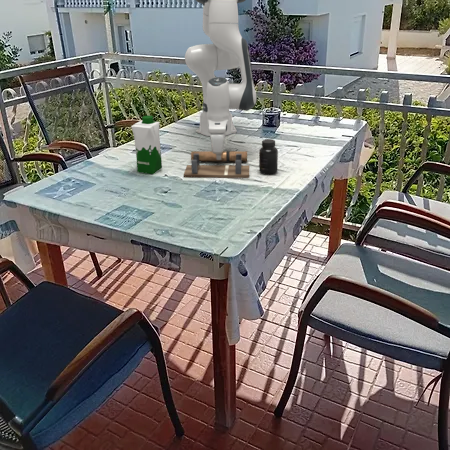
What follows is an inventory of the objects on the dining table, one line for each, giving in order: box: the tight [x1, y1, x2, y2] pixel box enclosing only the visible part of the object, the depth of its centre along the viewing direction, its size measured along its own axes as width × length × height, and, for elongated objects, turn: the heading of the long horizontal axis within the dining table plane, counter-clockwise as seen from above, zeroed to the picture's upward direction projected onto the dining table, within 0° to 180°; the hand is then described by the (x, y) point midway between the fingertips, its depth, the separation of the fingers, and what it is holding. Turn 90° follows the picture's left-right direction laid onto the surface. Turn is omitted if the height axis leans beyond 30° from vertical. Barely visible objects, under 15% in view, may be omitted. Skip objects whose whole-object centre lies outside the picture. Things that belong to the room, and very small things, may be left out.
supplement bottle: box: [258, 138, 279, 176], centre depth 176 cm, size 7×7×12 cm
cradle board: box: [183, 164, 251, 179], centre depth 178 cm, size 10×24×1 cm, turn 87°
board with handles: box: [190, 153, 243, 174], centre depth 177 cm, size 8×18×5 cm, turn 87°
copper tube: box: [190, 150, 248, 163], centre depth 188 cm, size 22×4×4 cm, turn 87°
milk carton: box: [130, 115, 163, 175], centre depth 177 cm, size 9×9×20 cm
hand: (219, 157), depth 188 cm, fingers closed on copper tube, 4 cm apart
